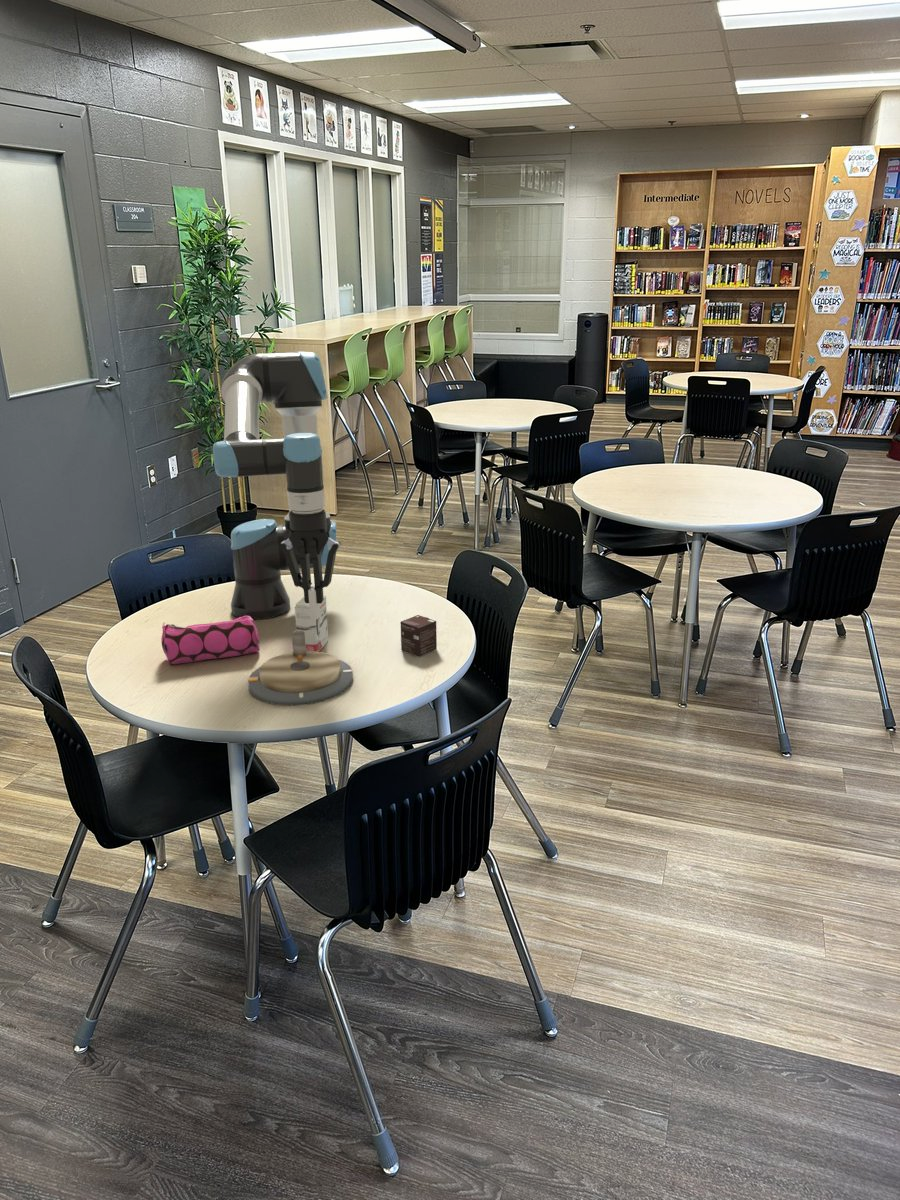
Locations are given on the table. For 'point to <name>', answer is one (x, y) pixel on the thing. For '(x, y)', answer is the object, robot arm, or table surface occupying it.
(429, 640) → the box
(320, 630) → the ink box
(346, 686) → the dial plate
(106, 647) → the table surface
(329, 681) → the dial
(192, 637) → the pencil case
